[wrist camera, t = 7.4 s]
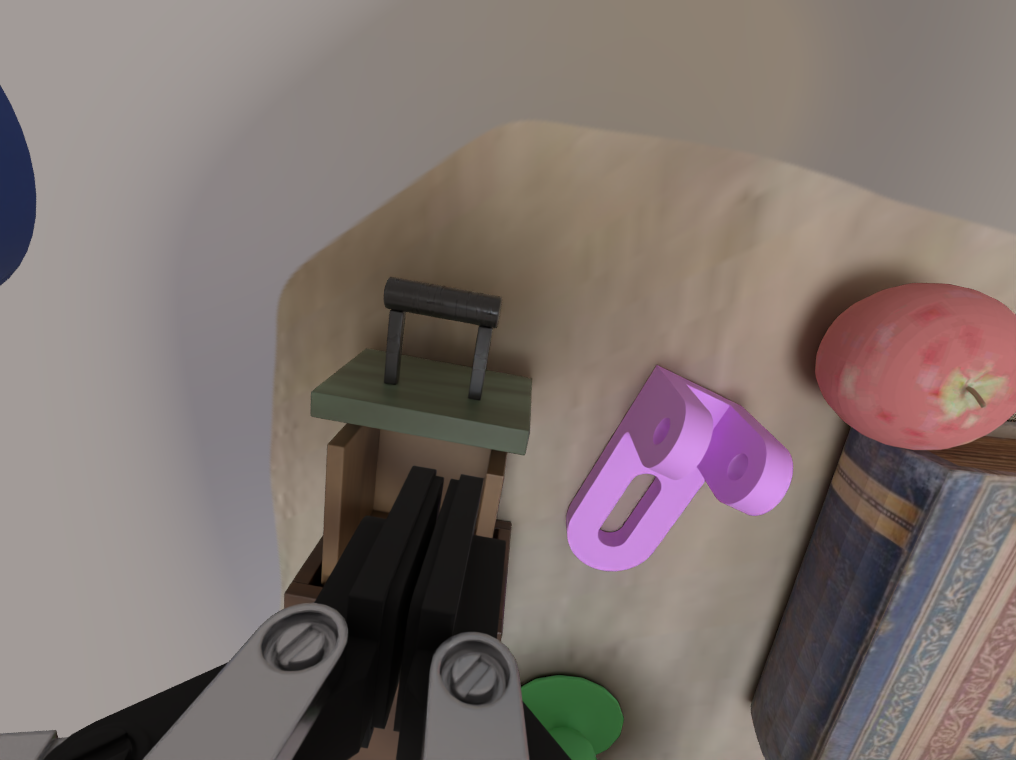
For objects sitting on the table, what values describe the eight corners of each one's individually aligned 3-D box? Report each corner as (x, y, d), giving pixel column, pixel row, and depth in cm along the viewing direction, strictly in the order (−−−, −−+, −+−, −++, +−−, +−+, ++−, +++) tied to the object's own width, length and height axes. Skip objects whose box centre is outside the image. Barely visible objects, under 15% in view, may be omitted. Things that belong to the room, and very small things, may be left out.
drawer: (372, 258, 25) (313, 274, 18) (549, 290, 25) (553, 318, 18) (354, 505, 30) (304, 585, 23) (501, 532, 30) (491, 619, 23)
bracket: (656, 364, 27) (695, 414, 20) (741, 406, 27) (807, 468, 20) (550, 535, 31) (554, 622, 24) (626, 568, 31) (649, 662, 25)
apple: (871, 427, 27) (1000, 511, 19) (760, 375, 26) (849, 440, 19) (966, 311, 25) (1155, 355, 17) (846, 250, 24) (987, 268, 16)
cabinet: (351, 492, 31) (283, 593, 23) (512, 522, 31) (502, 633, 23) (342, 626, 35) (282, 753, 26) (484, 652, 35) (468, 787, 26)
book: (1367, 504, 19) (1072, 863, 28) (1165, 432, 26) (975, 743, 34) (941, 459, 20) (779, 823, 29) (846, 401, 26) (737, 712, 35)
